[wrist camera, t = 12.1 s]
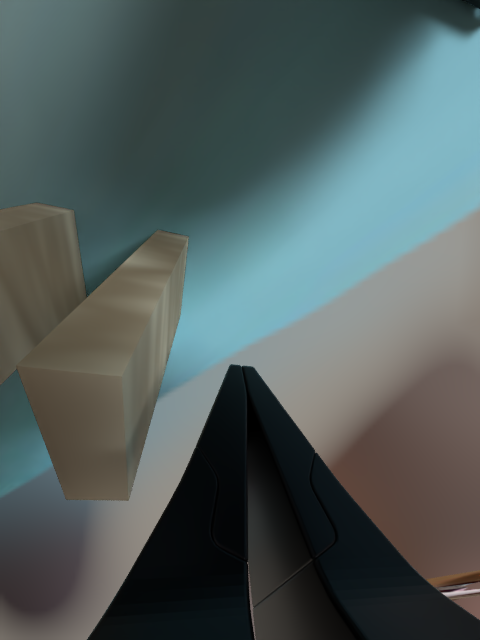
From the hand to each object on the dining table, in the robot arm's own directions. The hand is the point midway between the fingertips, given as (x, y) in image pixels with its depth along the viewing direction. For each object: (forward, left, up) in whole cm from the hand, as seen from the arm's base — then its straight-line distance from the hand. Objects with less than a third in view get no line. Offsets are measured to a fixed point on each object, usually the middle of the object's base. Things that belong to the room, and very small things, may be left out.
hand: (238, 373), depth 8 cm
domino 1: (+4, 0, -7) cm, 8 cm away
